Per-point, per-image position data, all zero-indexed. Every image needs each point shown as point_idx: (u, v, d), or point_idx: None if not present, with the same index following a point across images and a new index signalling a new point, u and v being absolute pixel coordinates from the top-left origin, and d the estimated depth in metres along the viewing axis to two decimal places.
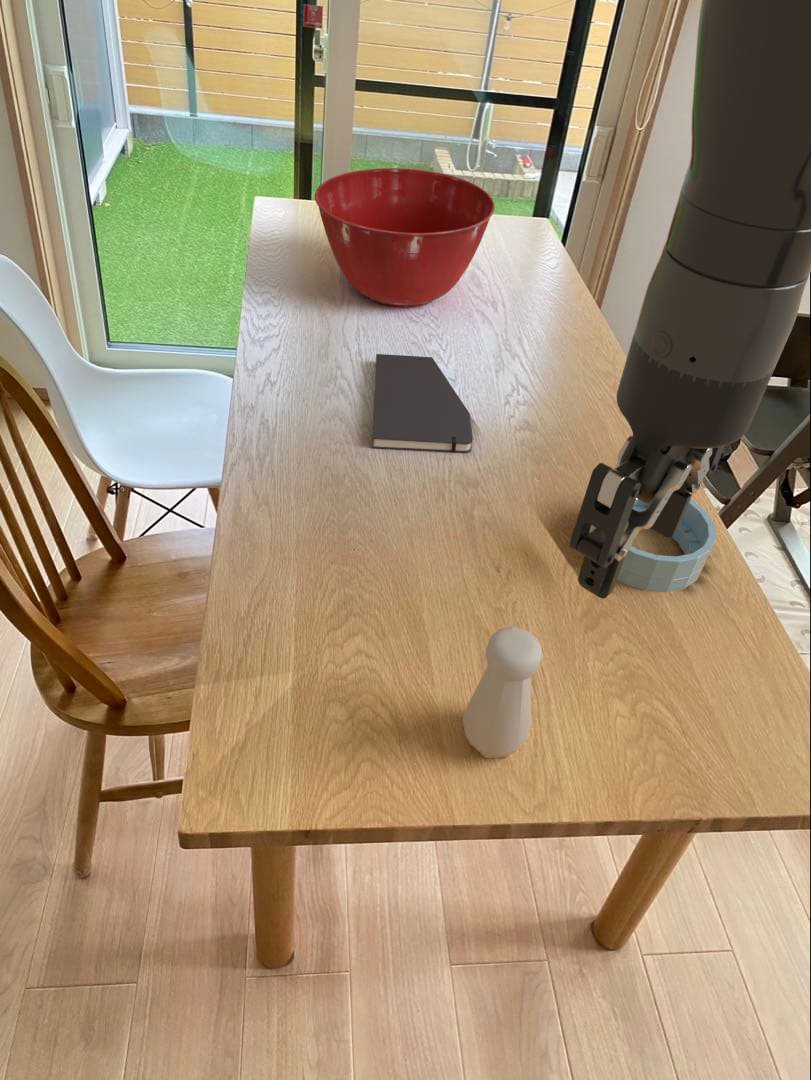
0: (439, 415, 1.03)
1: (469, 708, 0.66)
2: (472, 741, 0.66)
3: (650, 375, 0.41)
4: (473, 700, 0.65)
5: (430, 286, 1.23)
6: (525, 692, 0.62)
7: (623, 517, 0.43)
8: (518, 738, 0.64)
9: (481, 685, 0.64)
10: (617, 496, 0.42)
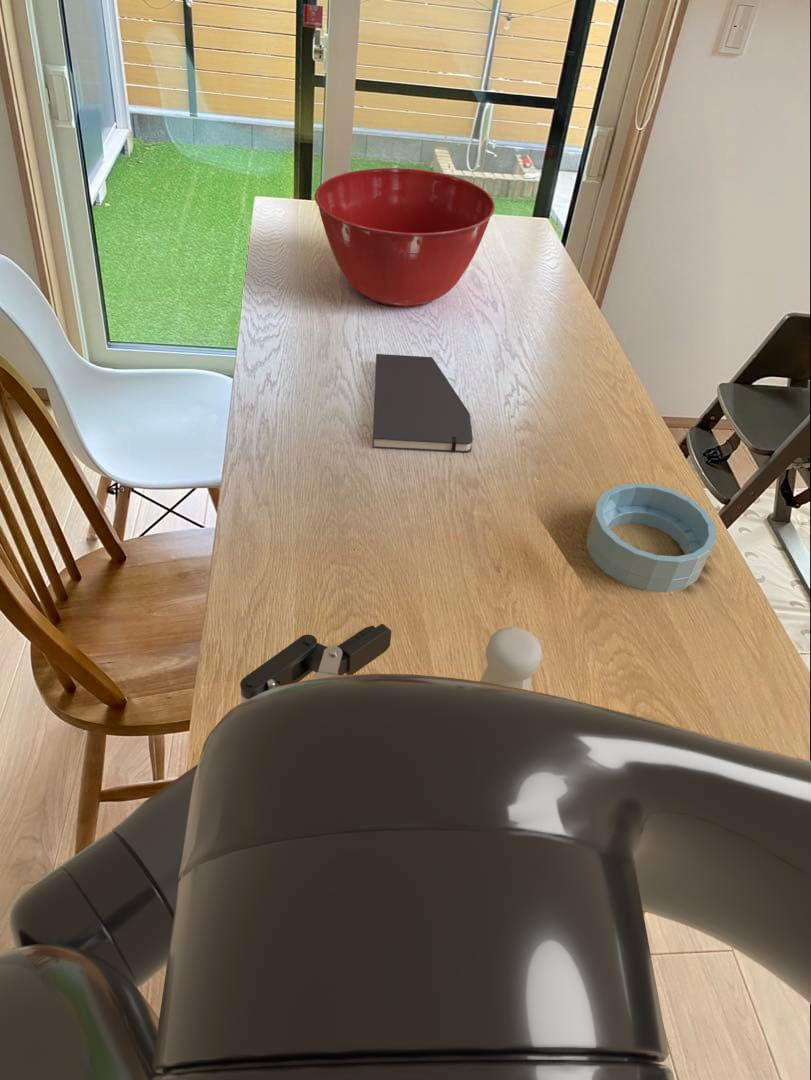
0: (439, 415, 1.03)
1: None
2: None
3: None
4: None
5: (430, 286, 1.23)
6: None
7: None
8: None
9: None
10: None
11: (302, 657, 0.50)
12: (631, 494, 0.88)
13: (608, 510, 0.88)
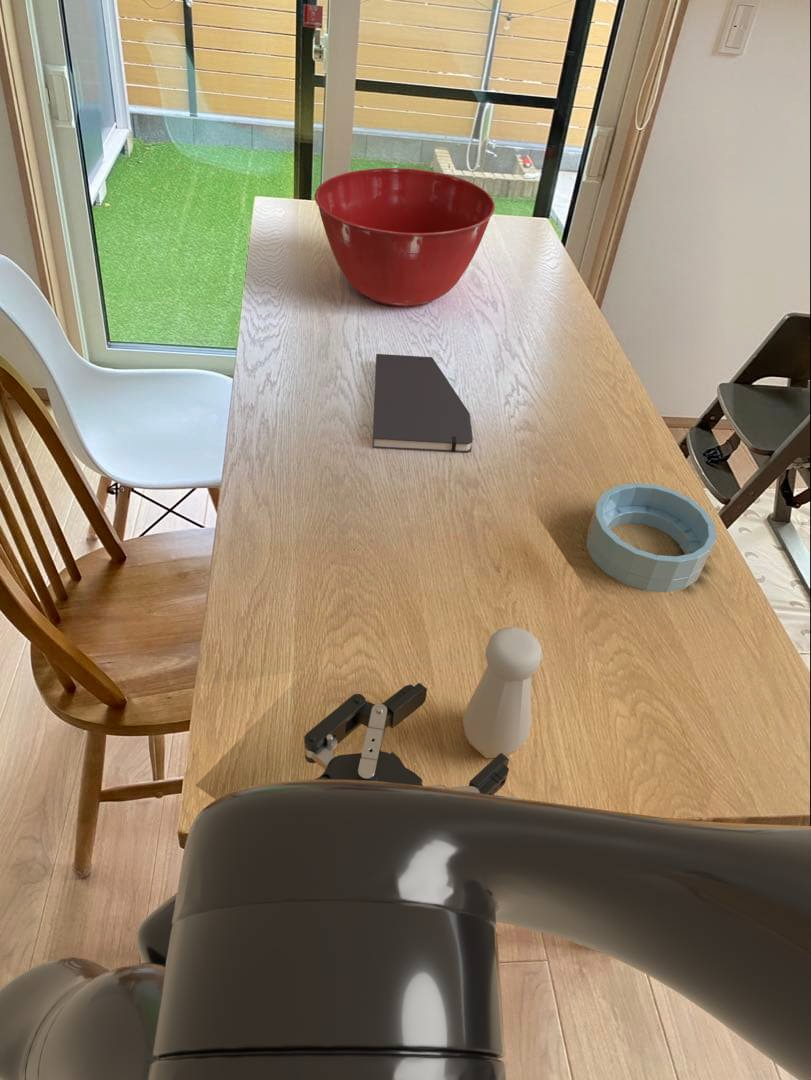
0: (439, 415, 1.03)
1: (469, 708, 0.66)
2: (472, 741, 0.66)
3: None
4: (473, 700, 0.65)
5: (430, 286, 1.23)
6: (525, 692, 0.62)
7: None
8: (518, 738, 0.64)
9: (481, 685, 0.64)
10: None
11: (354, 714, 0.60)
12: (631, 494, 0.88)
13: (608, 510, 0.88)
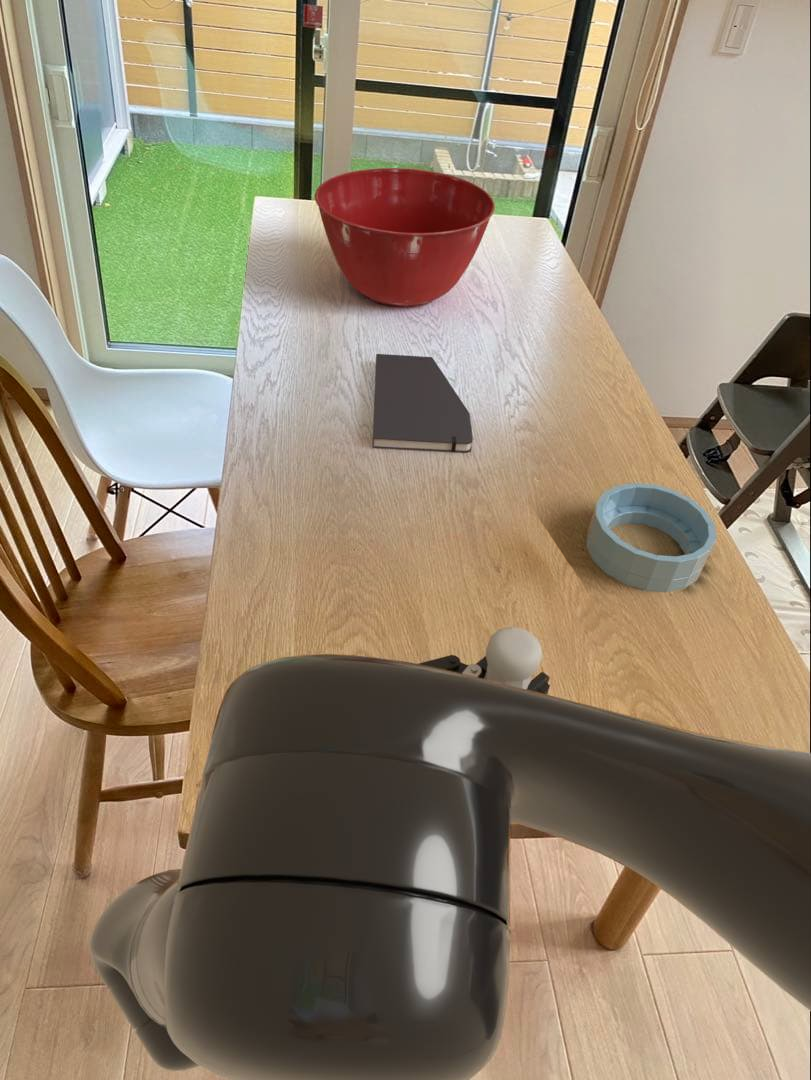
0: (439, 415, 1.03)
1: None
2: None
3: None
4: None
5: (430, 286, 1.23)
6: None
7: None
8: None
9: None
10: None
11: None
12: (631, 494, 0.88)
13: (608, 510, 0.88)
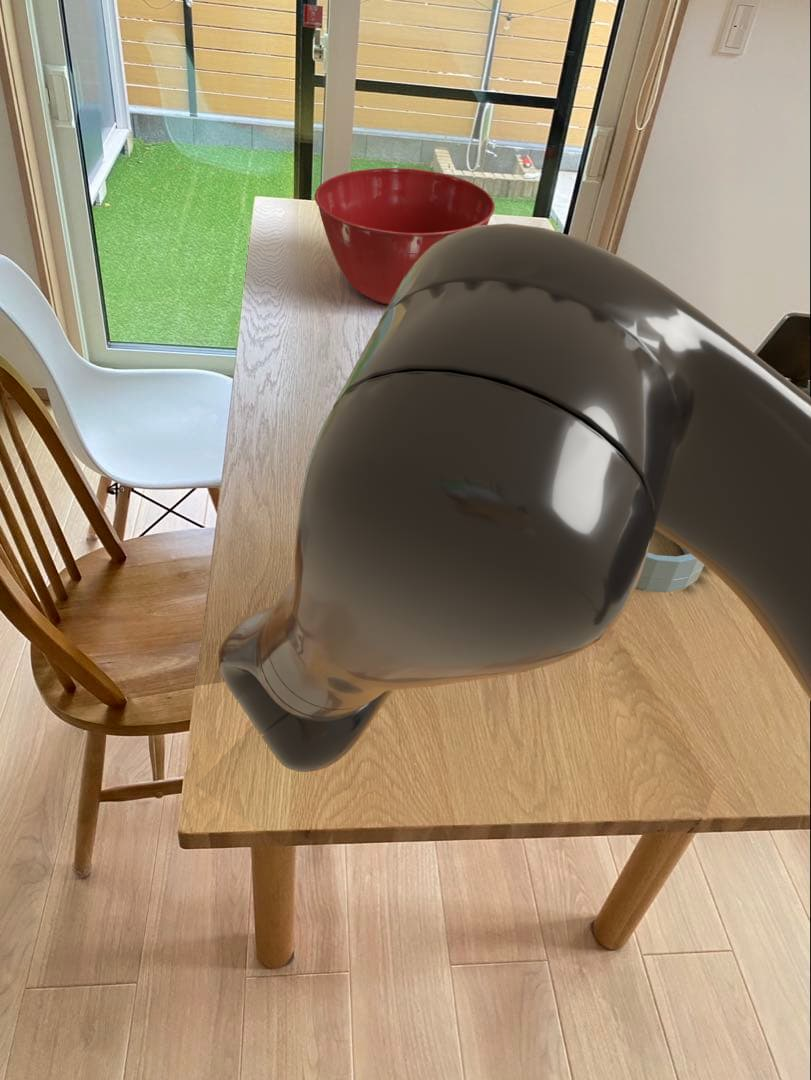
0: None
1: None
2: None
3: None
4: None
5: None
6: None
7: None
8: None
9: None
10: None
11: None
12: None
13: None
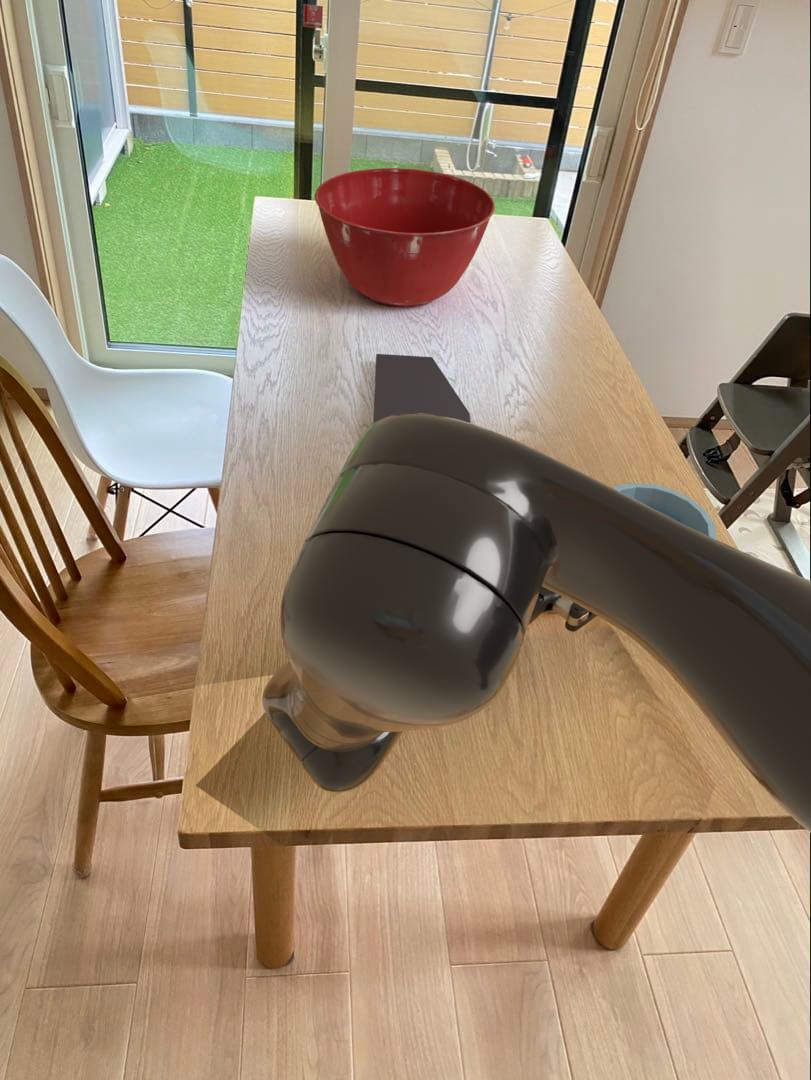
0: (439, 415, 1.03)
1: None
2: None
3: None
4: None
5: (430, 286, 1.23)
6: None
7: None
8: None
9: None
10: (583, 615, 0.68)
11: None
12: (631, 494, 0.88)
13: None
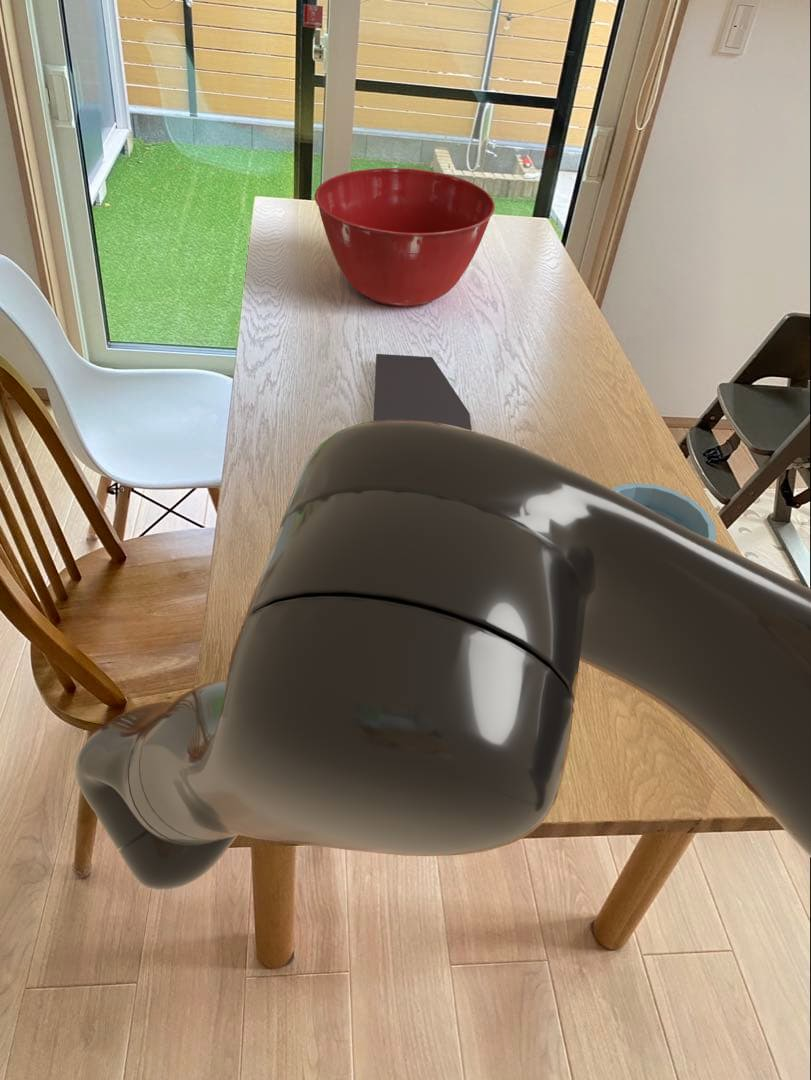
0: (439, 415, 1.03)
1: None
2: None
3: None
4: None
5: (430, 286, 1.23)
6: None
7: None
8: None
9: None
10: None
11: None
12: (631, 494, 0.88)
13: None
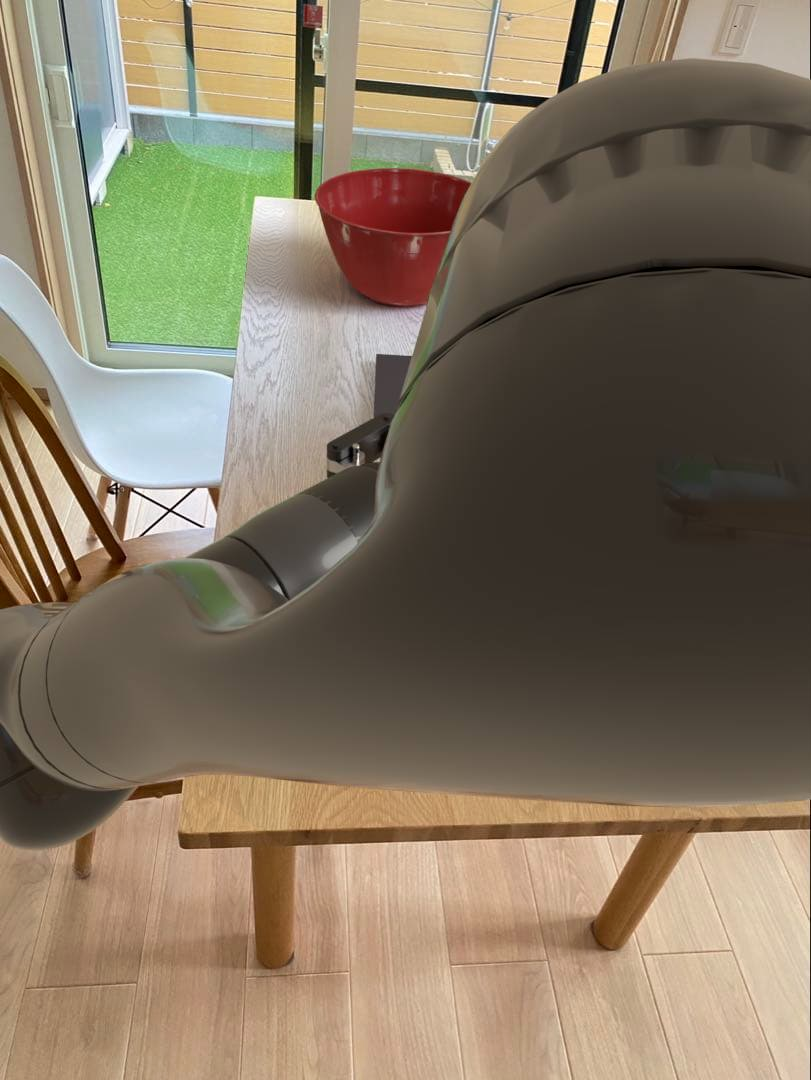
0: None
1: None
2: None
3: None
4: None
5: (430, 286, 1.23)
6: None
7: None
8: None
9: None
10: None
11: (383, 430, 0.52)
12: None
13: None
